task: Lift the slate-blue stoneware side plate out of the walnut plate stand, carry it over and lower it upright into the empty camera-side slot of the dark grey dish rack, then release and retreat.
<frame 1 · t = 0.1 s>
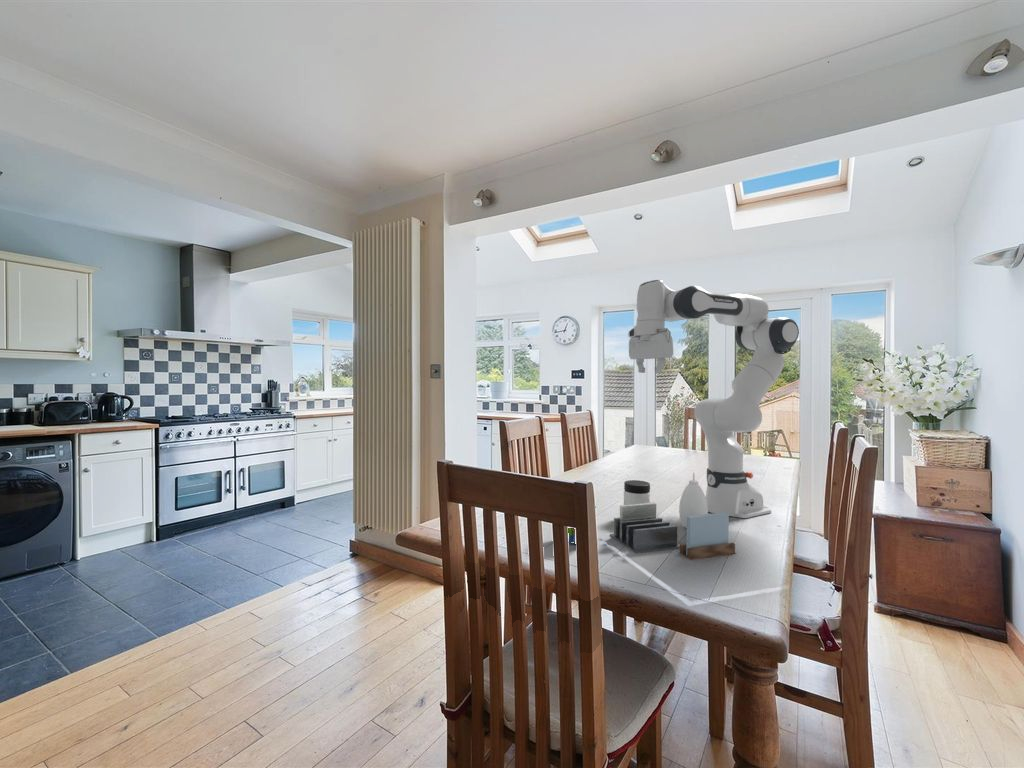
hand: (649, 372, 151), 48 cm above the table, fingers open, 8 cm apart
snack cup: (576, 541, 132), on the table
plate: (707, 553, 121), point 1 cm above the table, touching plate stand
plate stand: (707, 556, 121), on the table
sauce bottle: (693, 532, 140), on the table
dish rack: (644, 544, 129), on the table
jar: (636, 520, 151), on the table
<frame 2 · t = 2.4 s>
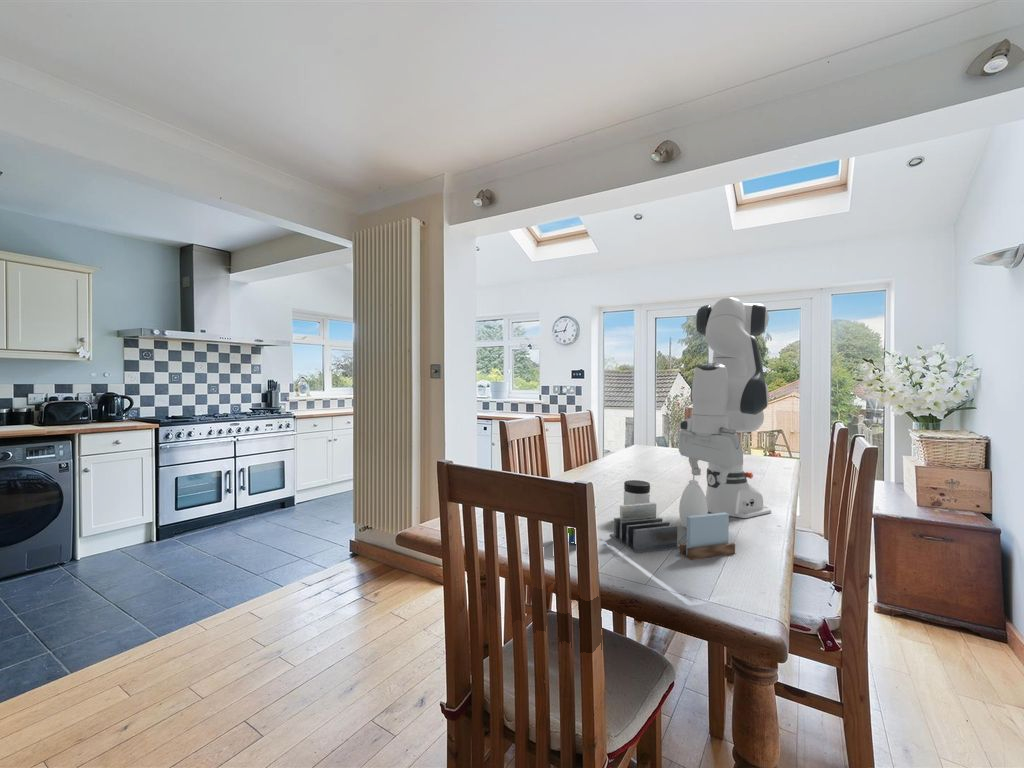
hand: (708, 478, 120), 20 cm above the table, fingers open, 8 cm apart
nothing on the table moved.
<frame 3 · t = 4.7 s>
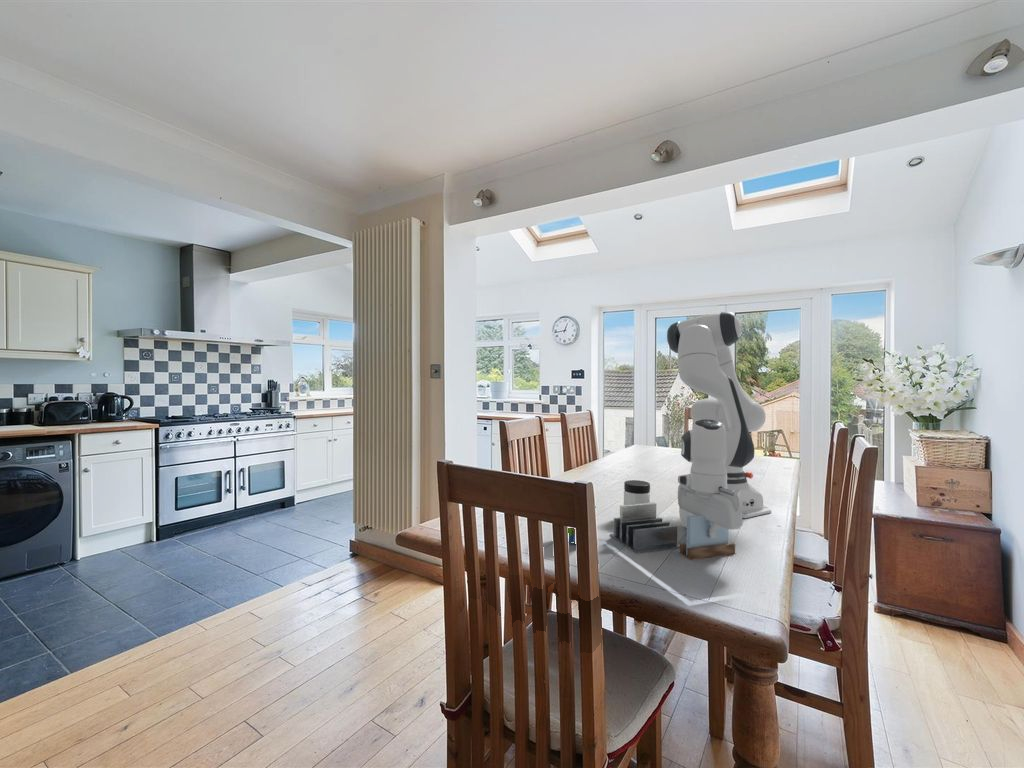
hand: (707, 535, 121), 5 cm above the table, fingers closed on plate, 1 cm apart
plate: (707, 553, 121), point 1 cm above the table, touching gripper
everything else where it was.
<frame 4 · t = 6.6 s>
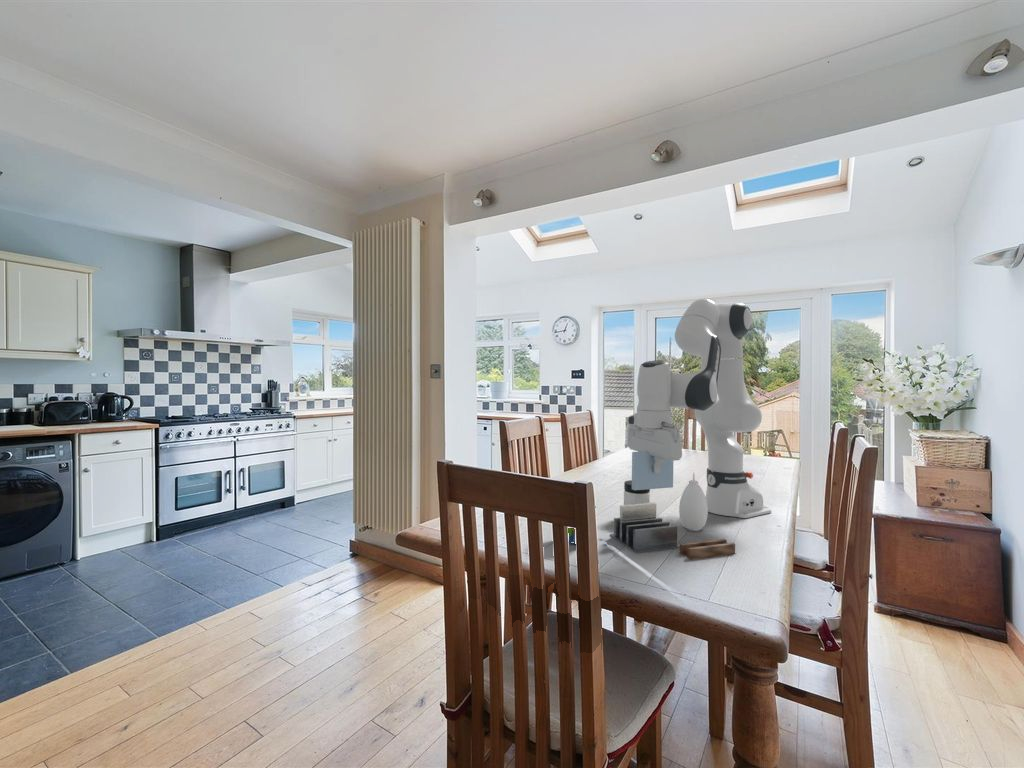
hand: (653, 471, 125), 21 cm above the table, fingers closed on plate
plate: (652, 488, 125), point 17 cm above the table, touching gripper
everything else where it was.
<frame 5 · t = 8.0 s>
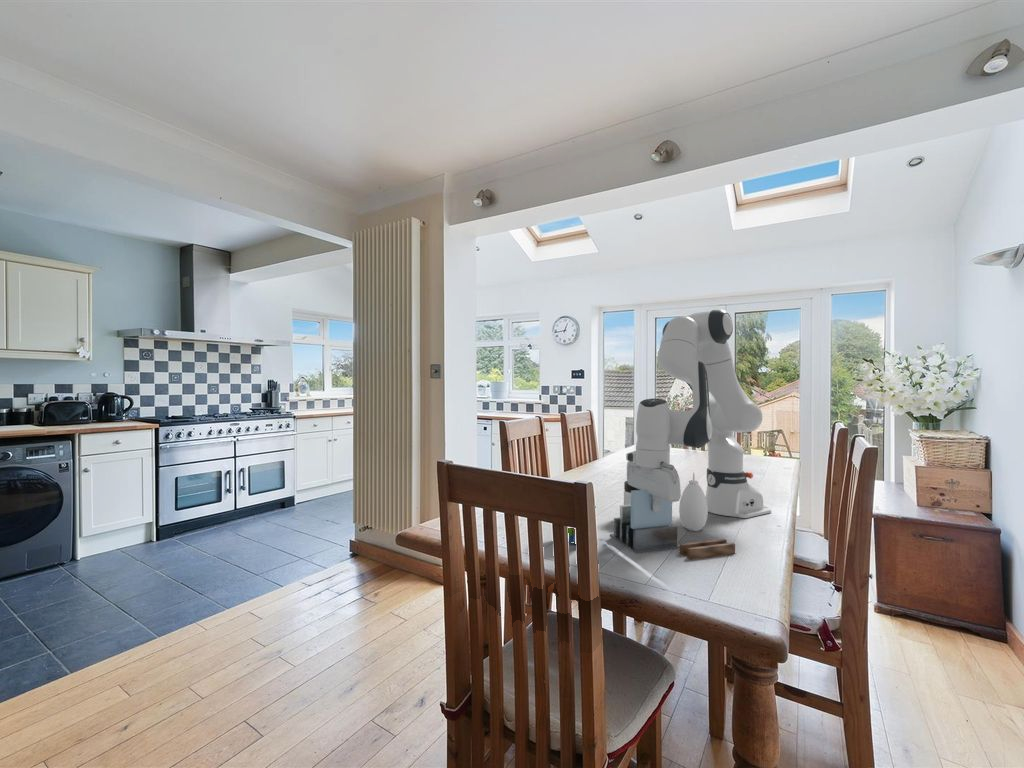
hand: (651, 509, 126), 11 cm above the table, fingers closed on plate
plate: (651, 526, 126), point 6 cm above the table, touching gripper
everything else where it was.
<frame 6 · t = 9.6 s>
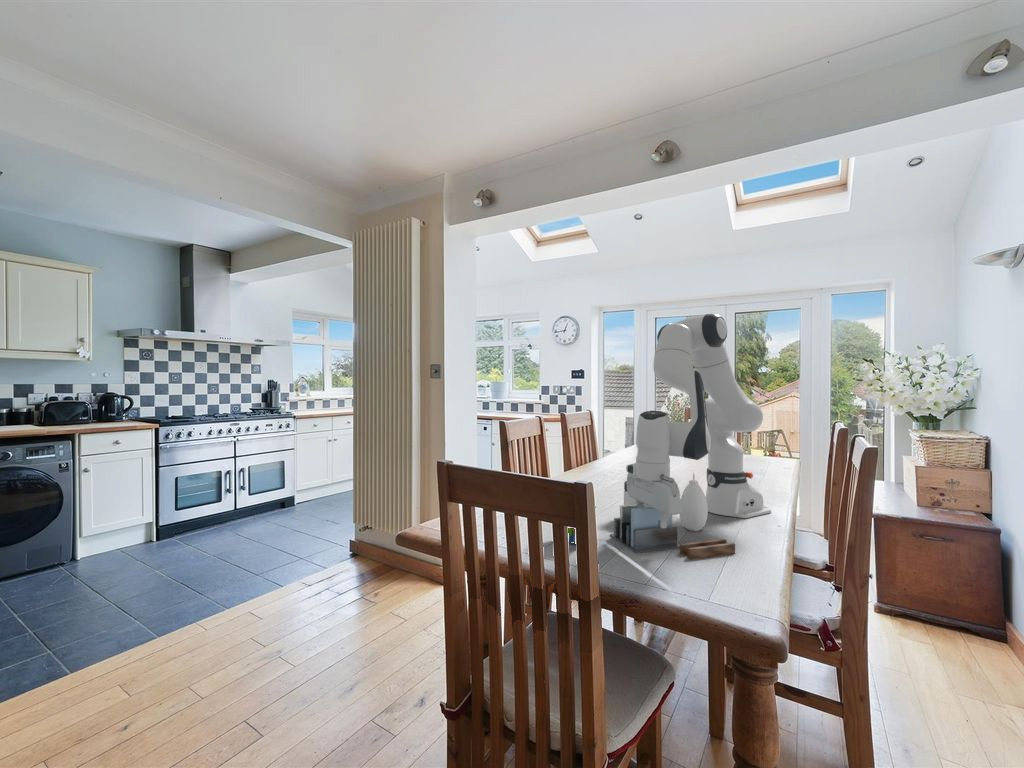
hand: (652, 521, 126), 7 cm above the table, fingers open, 8 cm apart
plate: (651, 544, 126), point 1 cm above the table, touching dish rack
everything else where it was.
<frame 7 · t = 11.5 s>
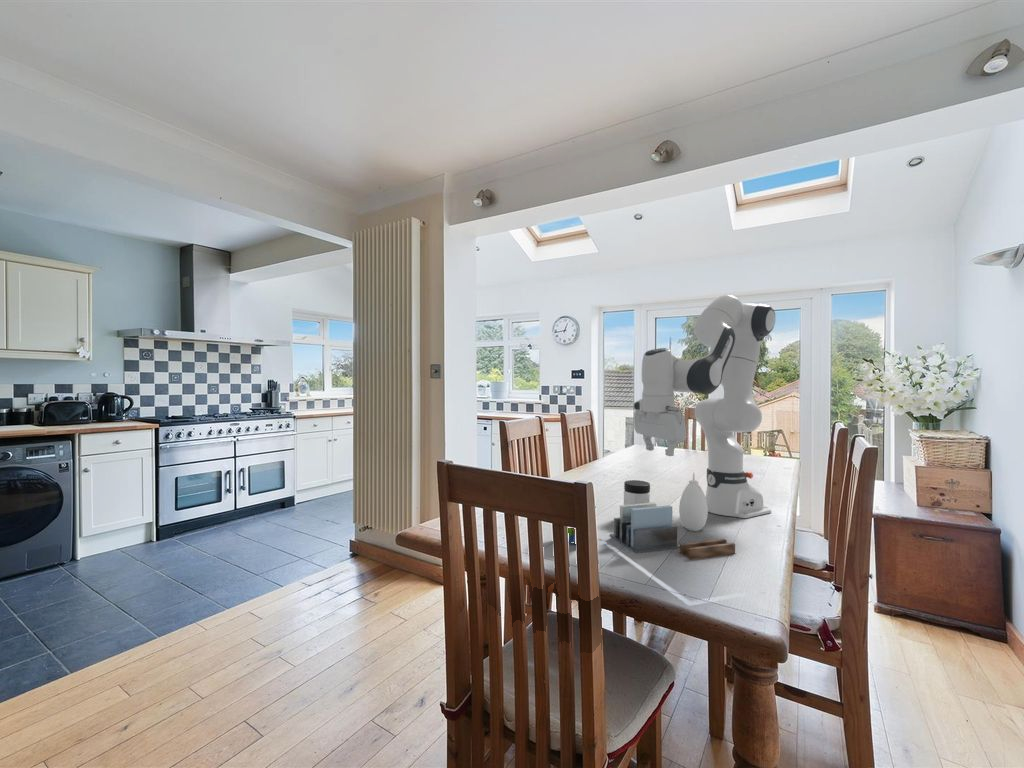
hand: (659, 452, 133), 25 cm above the table, fingers open, 8 cm apart
nothing on the table moved.
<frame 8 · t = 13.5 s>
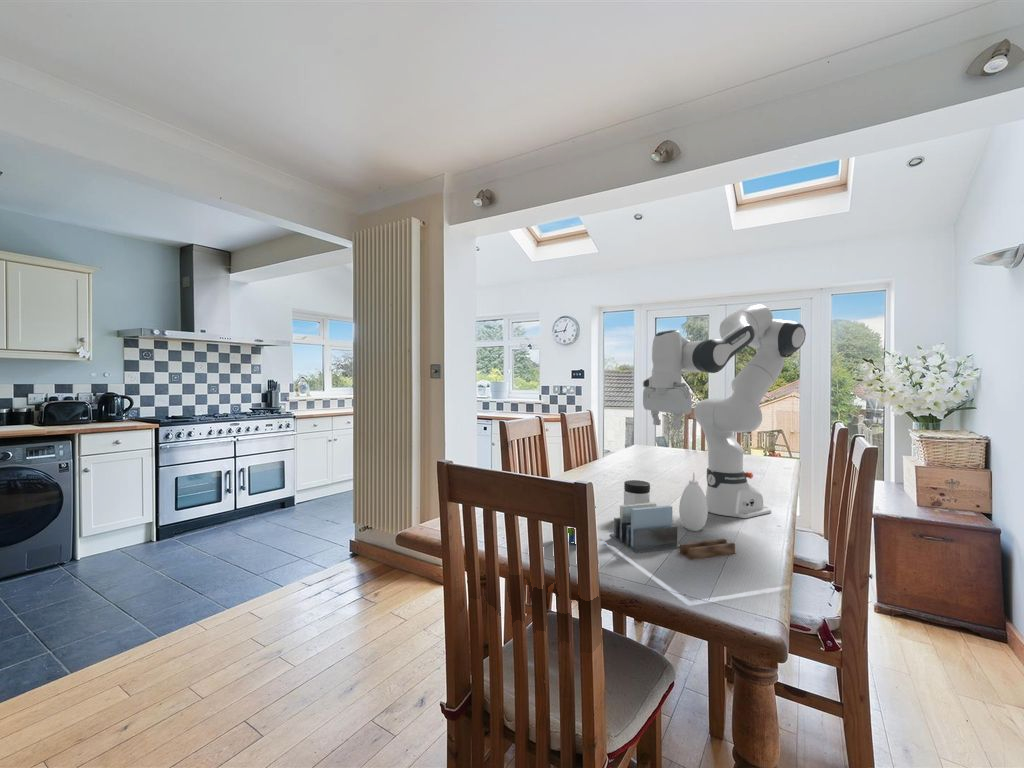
hand: (665, 426, 144), 31 cm above the table, fingers open, 8 cm apart
nothing on the table moved.
at the end: plate inside the target area (0.1 cm from its centre), point 1.2 cm above the table; plate tilted 0°; the gripper is holding nothing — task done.
